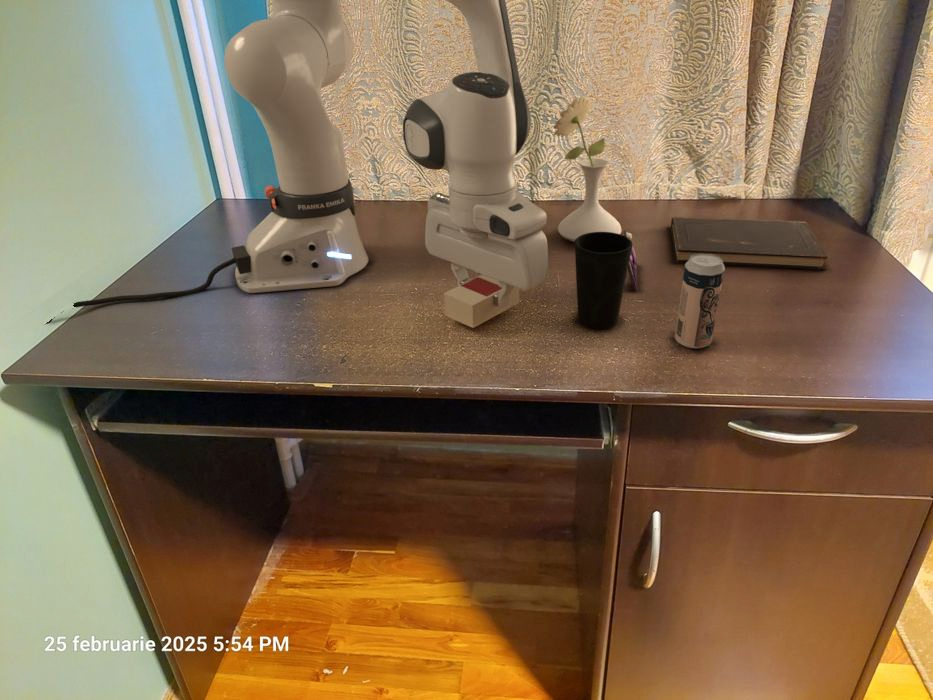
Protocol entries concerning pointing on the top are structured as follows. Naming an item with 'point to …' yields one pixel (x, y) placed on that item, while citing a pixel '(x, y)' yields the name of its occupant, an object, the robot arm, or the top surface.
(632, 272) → the purple toy figure frame
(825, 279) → the top surface
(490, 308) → the packet
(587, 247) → the cup
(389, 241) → the top surface
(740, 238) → the hardcover book
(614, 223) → the flower in vase
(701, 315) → the beer can
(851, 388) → the top surface
